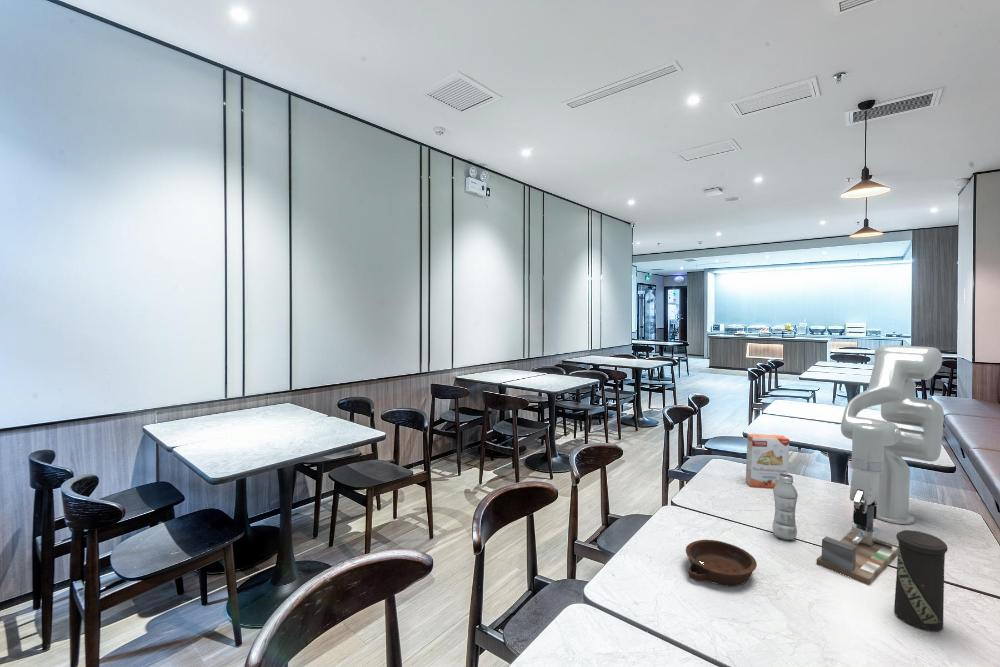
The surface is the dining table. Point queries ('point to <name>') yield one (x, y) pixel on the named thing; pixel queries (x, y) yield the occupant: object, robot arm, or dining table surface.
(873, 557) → the gauge base
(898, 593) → the container
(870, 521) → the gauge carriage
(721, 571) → the dish
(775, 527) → the plastic bottle
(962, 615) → the dining table surface
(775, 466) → the cracker box
